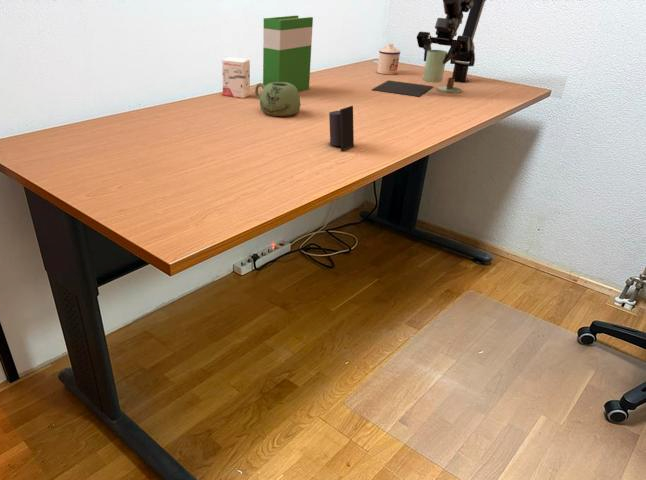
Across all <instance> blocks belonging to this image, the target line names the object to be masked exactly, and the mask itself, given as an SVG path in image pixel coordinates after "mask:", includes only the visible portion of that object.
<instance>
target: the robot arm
mask: <svg viewBox="0 0 646 480" xmlns="http://www.w3.org/2000/svg"><path fill="white" fill-rule="evenodd" d="M486 1H487V0H442V4H443V12H444V14H445V15H446V16H445V17H437V19H436V23H435V26H434V29H435V30H436V31H435V35H436V36H432V35H431V33H430V32H429V31H419V32H417V35H416V41H417V46H418V48H420V49H423V51H424V53H423V61H424V62H426V56H427V51H428V50H432V44H435V45H436V44H437V45H440V46H446V47H447V46H448V47H450V48H449V49H448V51H447V55H446V57H445V59H444V62H443V63H444V64H445V65H446V64H448V62H449V63H450V65H454V66H453V70H452V76H451V78H455V81H454V82H459V83H460V82H461V83H466V82H467V81H468V80H469V78H467V76H468V72H469V67H474V66H475V62H476V53H475V43H474V38H475V35H476V31H477V28H478V25H479V22H480V19H481V16H482V13H483V10H484V6H485V3H486ZM464 13H468V15H467V18H466V21H465V25H464V28H463V31H462V35H458V32H457V31H458V29H459V28H460V25H462V24H463V19H464ZM457 35H458V36H457ZM455 37H457V38H456V39H454V38H455Z"/></svg>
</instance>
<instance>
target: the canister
mask: <svg viewBox="0 0 646 480" xmlns="http://www.w3.org/2000/svg"><path fill="white" fill-rule="evenodd" d="M447 53H448V51H446V50H442V49H431V50H428V51H427V56H426V61H424V62H425V63H424V69H423V75H422V81H423V82H426V83H432V84H440V83H442V82H443V79H444V78H443V77H444V72H445V68H446V64H444V63H443V62H444V59H445V57H446V55H447Z"/></svg>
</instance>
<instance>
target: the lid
mask: <svg viewBox="0 0 646 480" xmlns="http://www.w3.org/2000/svg"><path fill="white" fill-rule="evenodd" d="M447 78H448V79H447V83H446V86H445V85H443V86H442V85H441V86H438V87H437V90H438V91H439V92H443V93H449V94H459V93H461V92H462V88H459V87H456V86H455V85H454V84H455V82H456V81H455V78H452V77H447Z"/></svg>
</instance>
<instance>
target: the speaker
mask: <svg viewBox="0 0 646 480" xmlns="http://www.w3.org/2000/svg"><path fill="white" fill-rule="evenodd" d="M328 115H329V116H328V117H329V121H328V122H329V144H330V146H333V147H340V151H341V152H344V151H346V150H349V149H351V148H354V146H355V139H354V137H355V136H354V134H355V133H354V105H349V106H347V107H343V108H341V109H339V110H334V111H330V112H329V113H328Z"/></svg>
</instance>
